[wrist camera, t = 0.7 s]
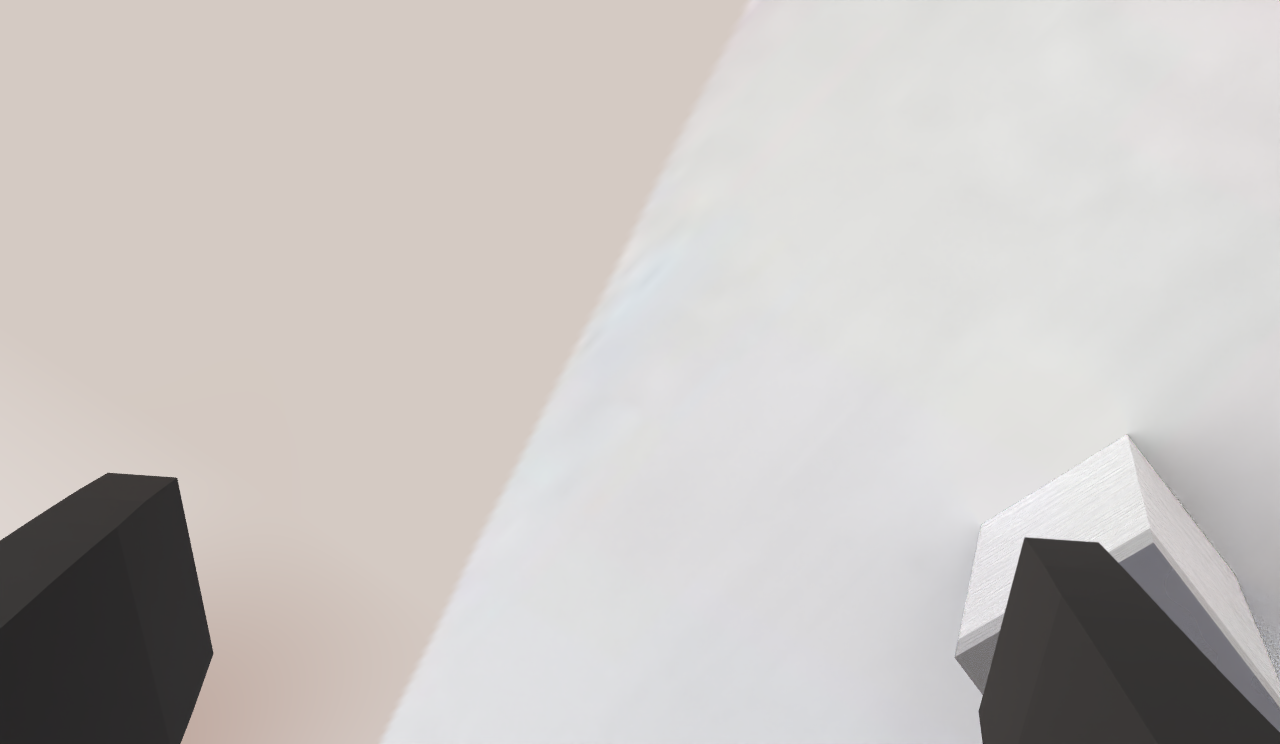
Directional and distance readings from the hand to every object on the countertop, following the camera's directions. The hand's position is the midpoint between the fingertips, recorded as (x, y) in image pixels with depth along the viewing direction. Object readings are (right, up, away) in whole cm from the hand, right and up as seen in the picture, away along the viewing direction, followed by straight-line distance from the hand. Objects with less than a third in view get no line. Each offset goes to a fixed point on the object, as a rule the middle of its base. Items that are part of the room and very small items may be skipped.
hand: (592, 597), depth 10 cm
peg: (+11, -2, +18) cm, 21 cm away
